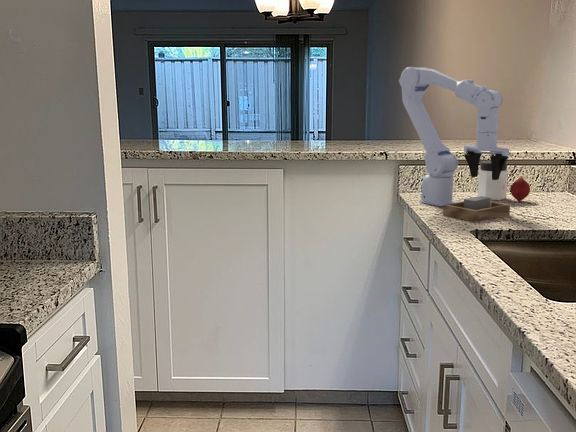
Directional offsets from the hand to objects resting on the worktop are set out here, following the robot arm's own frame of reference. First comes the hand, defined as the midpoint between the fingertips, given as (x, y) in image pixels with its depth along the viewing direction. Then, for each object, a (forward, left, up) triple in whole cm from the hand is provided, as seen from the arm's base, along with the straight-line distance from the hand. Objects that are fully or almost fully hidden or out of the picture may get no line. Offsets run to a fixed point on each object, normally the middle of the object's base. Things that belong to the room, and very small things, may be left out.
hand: (484, 178), depth 173 cm
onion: (-1, +19, -10) cm, 21 cm away
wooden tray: (+4, -8, -9) cm, 13 cm away
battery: (+4, -8, -9) cm, 12 cm away
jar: (-10, +17, -10) cm, 22 cm away
